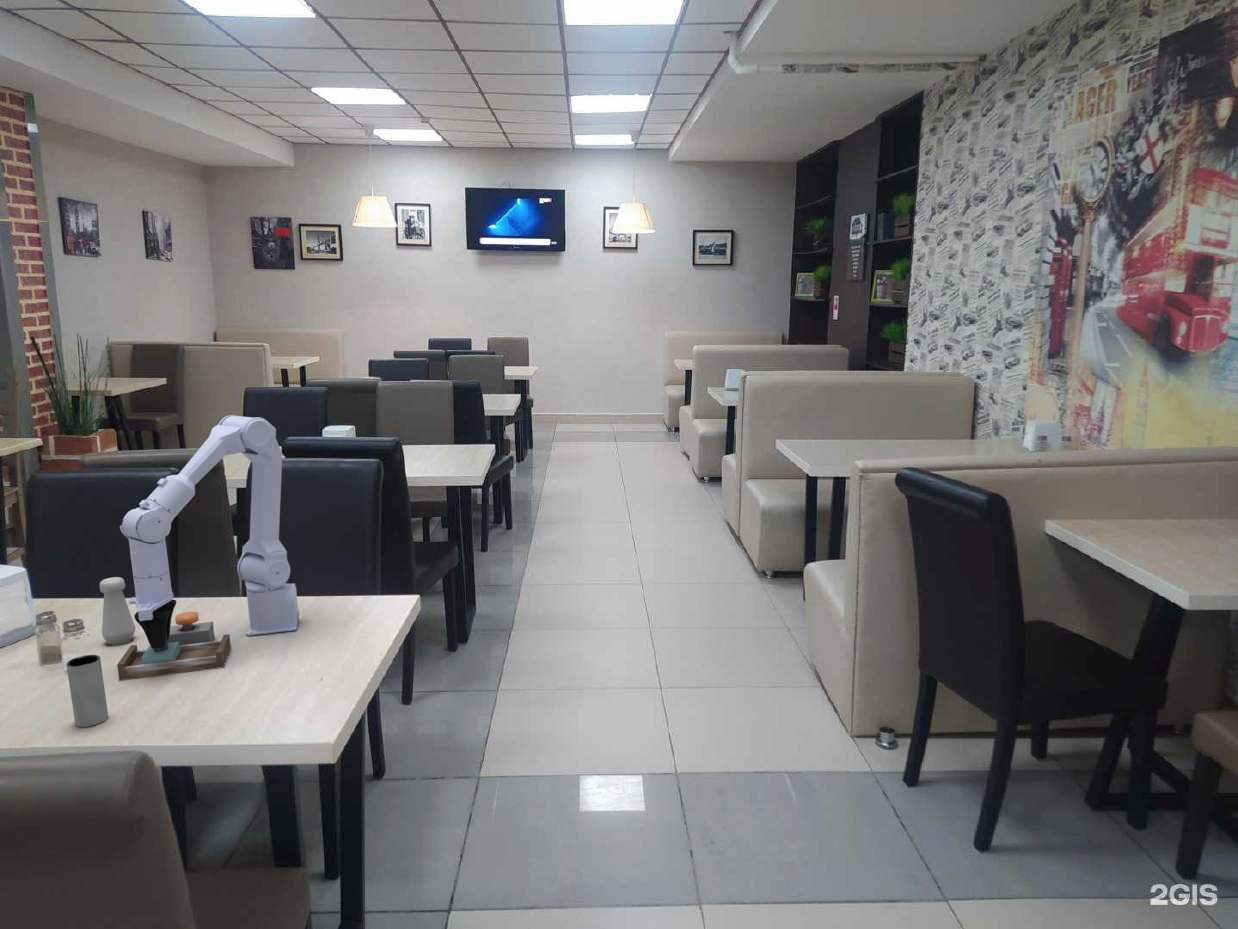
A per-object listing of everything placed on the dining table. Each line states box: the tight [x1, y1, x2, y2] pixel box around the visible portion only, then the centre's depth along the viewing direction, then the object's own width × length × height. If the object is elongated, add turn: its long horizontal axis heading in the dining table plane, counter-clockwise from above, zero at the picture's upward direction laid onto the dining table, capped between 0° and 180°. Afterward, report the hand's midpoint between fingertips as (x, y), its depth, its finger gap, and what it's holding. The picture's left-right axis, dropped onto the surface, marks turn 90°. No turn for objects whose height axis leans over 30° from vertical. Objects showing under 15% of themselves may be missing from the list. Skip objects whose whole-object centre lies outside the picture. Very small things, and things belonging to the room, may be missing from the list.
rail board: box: [116, 633, 232, 681], centre depth 154 cm, size 17×9×3 cm, turn 107°
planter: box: [65, 654, 109, 728], centre depth 132 cm, size 4×4×10 cm
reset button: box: [174, 611, 200, 631], centre depth 162 cm, size 4×4×4 cm
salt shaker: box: [99, 576, 136, 646], centre depth 165 cm, size 6×6×13 cm
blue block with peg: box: [142, 635, 180, 665], centre depth 153 cm, size 5×6×6 cm
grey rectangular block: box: [167, 621, 216, 645], centre depth 163 cm, size 8×5×4 cm, turn 107°
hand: (160, 644), depth 153 cm, fingers closed on blue block with peg, 2 cm apart
